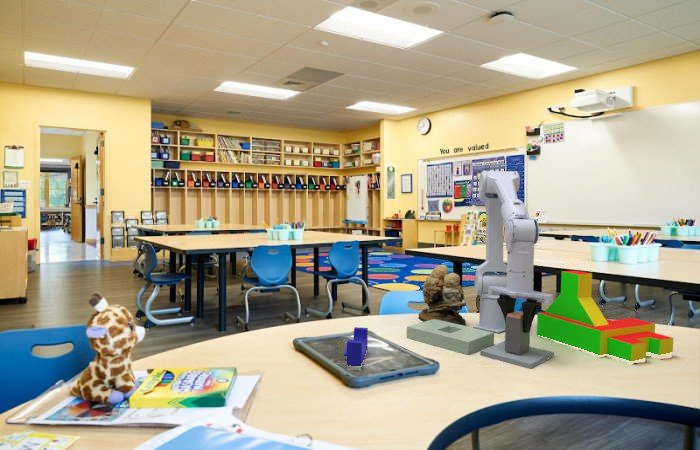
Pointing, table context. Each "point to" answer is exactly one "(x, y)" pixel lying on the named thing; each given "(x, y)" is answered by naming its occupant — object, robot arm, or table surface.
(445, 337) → the socket block
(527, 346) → the plug
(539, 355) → the mat
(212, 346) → the table surface
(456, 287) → the owl figurine
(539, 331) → the building blocks toy
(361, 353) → the blue stepped block
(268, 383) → the table surface
